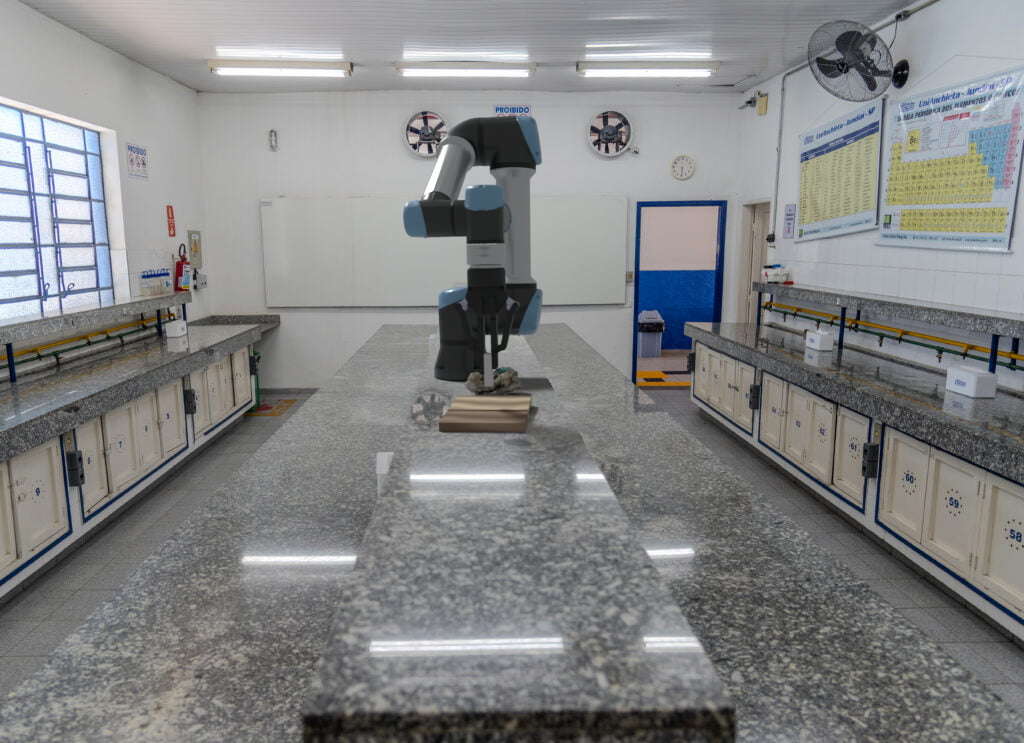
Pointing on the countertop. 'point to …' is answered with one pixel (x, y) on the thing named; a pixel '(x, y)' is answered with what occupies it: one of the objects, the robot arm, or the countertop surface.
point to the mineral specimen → (502, 380)
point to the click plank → (492, 403)
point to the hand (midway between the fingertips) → (489, 385)
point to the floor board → (484, 420)
